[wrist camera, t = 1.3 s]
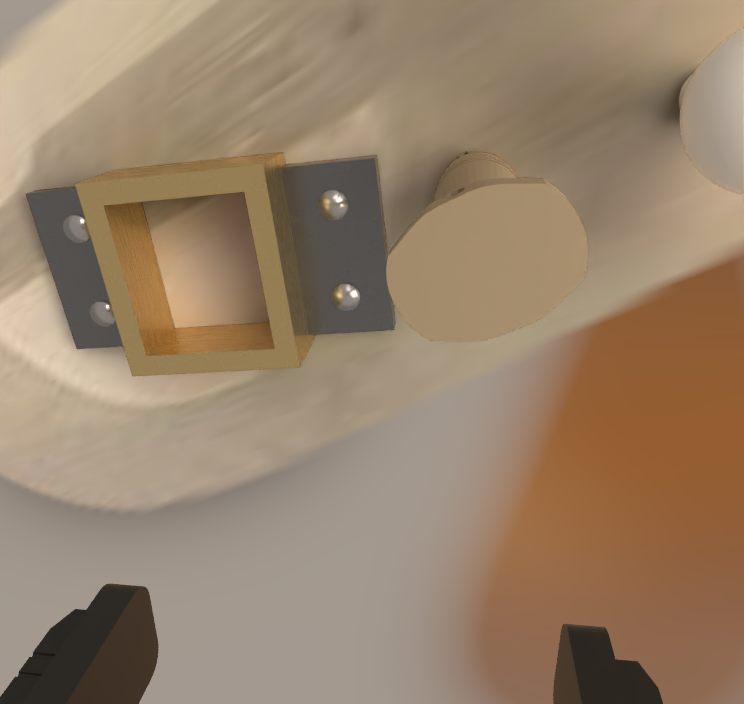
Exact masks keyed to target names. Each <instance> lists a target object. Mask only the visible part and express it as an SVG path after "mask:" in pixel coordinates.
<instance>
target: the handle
mask: <svg viewBox="0 0 744 704" xmlns="http://www.w3.org/2000/svg"><path fill="white" fill-rule="evenodd" d="M588 256H589V252H588V243H587V237H586V234H585V231H584V227H583V224H582V222H581V220H580V218H579V216H578V214H577V212H576V210H575V209H574V207H573V206H572V205H571V203H570V202H569V201H568V199H567V198H566V197H565V195H564V194H563V193H562V192H561V191H560V190H559V189H557V188H556V187H555V186H554V185H552V184H551V183H549V182H548V181H546V180H544V179H543V178H517V176H516V174H515V172H514V171H513V170H512V169H511V167H510V166H509V165H508V164H507V163H505V162H504V161H503V160H502V159H500V158H499V157H498V156H497V155H495V154H489V153H486V152H473V153H471V152H470V151H466V152H464V153H462V154H460V155H459V156H458V157H457V158H456V160H455V161H454V162H452V163H451V164H450V166H449V167H448V168H447V169H446V170H445V172H444V173H443V175H442V177H441V178H440V181H439V183H438V185H437V188H436V192H435V197H434V202H433V203H431V204H430V205H428V206H427V207H426V208H425V209H424V210H423V211H422V212H421V213H420V214H419V215H418V216H417V217H416V218H415V220H414V221H413V222H412V223H411V224H410V226H409V227H408V228H407V229H406V230H405V232H404V233H403V234H402V235H401V237H400V238H399V239H398V240H397V242H396V243H395V244H394V246H393V247H392V248H391V250H390V252H389V255H388V259H387V266H386V280H387V284H388V288H389V293H390V295H391V298H392V300H393V302H394V305H395V307H396V308H397V310H398V312H399V313H400V315H401V316H402V318H403V319H404V320H405V322H406V323H407V324H408V325H409V326H410V327H411V328H412V329H413V330H414V331H416V332H417V333H418V334H420V335H421V336H423V337H424V338H426V339H428V340H430V341H448V342H474V341H485V340H488V339H492V338H495V337H499V336H501V335H504V334H506V333H509V332H511V331H514V330H516V329H519V328H521V327H524V326H526V325H529V324H531V323H533V322H535V321H537V320H539V319H541V318H542V317H543V316H545V315H546V314H547V313H549V312H550V311H551V310H552V309H554V308H555V307H556V306H557V305H558V304H559V303H560V302H561V301H562V300H563V299H564V298H565V297H566V296H567V295H568V294H569V293H570V292H571V291H572V290H573V289H574V288H575V287H576V286H577V285H578V284H579V283H580V282H581V281H582V280H583V278H584V276H585V273H586V269H587V264H588Z"/></svg>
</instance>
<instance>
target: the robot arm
mask: <svg viewBox="0 0 744 704" xmlns="http://www.w3.org/2000/svg"><path fill="white" fill-rule="evenodd" d="M157 658H158V639H157V634H156V629H155V623H154V617H153V612H152V606H151V601H150V595H149V592H148V590H147V588H146V587H143V586H130V585H119V584H106V585H105V586H103V587H102V589H101V590H100V591H99V593H98V594H97V595H96V597H95V598H94V600H93V601H92V603H91V604H90V605H89V607H88V608H87V610H79V609H75V610H74V611H72V612H71V613H70V614H69V615H67V616H66V617H65V618H63V619H62V620H61V621H60V622H58V623H57V624H56V625H55V626H53V627H52V628H51V629H50V630H49V632H48V633H47V634H46V635H45V637H44V638H43V640H42V641H41V642H40V644H39V645H38V646H37V648H36V649H35V651H34V652H33V656H32V657H29V659H28V660H27V661H26V663H25V664H24V666H23V667H22V668H21V670H20V671H19V675H18V677H15V678H14V679H13V680H12V682H11V683H10V685H9V686H8V687H7V689H6V690H5V691H4V693H3V694H2V695H1V697H0V704H139V702H140V700H141V698H142V696H143V694H144V692H145V690H146V688H147V686H148V684H149V682H150V680H151V678H152V676H153V673H154V670H155V667H156V663H157ZM553 697H554V698H553V700H554V704H663V702H662V699H661V695H660V692H659V689H658V687H657V686H656V685H655V683H654V682H653V681H652V679H651V678H650V677H649V676H648V674H647V673H646V672H645V670H644V669H643V668H642V667H641V665H640V664H639V663H638V662H637V661H626V660H615V656H614V653H613V649H612V645H611V642H610V638H609V634H608V632H607V630H606V628H605V627H595V626H583V625H572V624H563V626H562V630H561V636H560V643H559V650H558V658H557V665H556V672H555V680H554V692H553Z"/></svg>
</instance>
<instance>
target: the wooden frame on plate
mask: <svg viewBox="0 0 744 704" xmlns="http://www.w3.org/2000/svg"><path fill="white" fill-rule="evenodd" d="M237 192H244V194H245V199H246V204H247V209H248V214H249V219H250V224H251V229H252V235H253V240H254V245H255V250H256V255H257V260H258V265H259V270H260V276H261V281H262V286H263V291H264V296H265V301H266V306H267V311H268V317H269V323H254V324H238V325H222V326H207V327H191V328H176V329H175V328H174V325H173V321H172V317H171V313H170V309H169V305H168V301H167V298H166V294H165V290H164V286H163V282H162V278H161V275H160V271H159V267H158V263H157V259H156V255H155V252H154V248H153V244H152V240H151V236H150V232H149V228H148V225H147V221H146V217H145V213H144V209H143V205H142V202H145V201H155V200H165V199H175V198H186V197H196V196H206V195H216V194H226V193H237ZM26 197H27V200H28V203H29V206H30V209H31V212H32V215H33V218H34V221H35V224H36V227H37V230H38V233H39V236H40V239H41V242H42V245H43V248H44V251H45V254H46V257H47V260H48V263H49V266H50V269H51V272H52V275H53V278H54V281H55V284H56V287H57V290H58V293H59V296H60V299H61V302H62V305H63V308H64V311H65V314H66V317H67V320H68V323H69V326H70V330H71V333H72V336H73V339H74V342H75V345H76V348H77V349H84V348H101V347H117V346H124V350H125V353H126V357H127V360H128V363H129V367H130V370H131V373H132V376H147V375H166V374H186V373H205V372H224V371H243V370H262V369H282V368H300V366H301V364H302V362H303V360H304V358H305V356H306V354H307V352H308V350H309V348H310V346H311V344H312V342H313V340H314V335H317V334H333V333H350V332H366V331H383V330H394V328H395V314H394V305H393V300H392V298H391V295H390V293H389V288H388V284H387V280H386V266H387V259H388V250H387V241H386V232H385V223H384V214H383V205H382V196H381V187H380V177H379V168H378V159H377V155H372V156H363V157H353V158H343V159H334V160H324V161H314V162H305V163H295V164H285V158H284V152H280V153H270V154H261V155H252V156H242V157H233V158H224V159H214V160H205V161H196V162H186V163H177V164H168V165H158V166H149V167H140V168H130V169H121V170H113V171H110V172H107V173H104V174H101V175H99V176H96V177H93V178H90V179H87V180H85V181H82V182H79V183H76V184H75V186H74V187H64V188H55V189H45V190H36V191H33V192H30V193H27V194H26Z"/></svg>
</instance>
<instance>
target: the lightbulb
mask: <svg viewBox="0 0 744 704" xmlns="http://www.w3.org/2000/svg"><path fill="white" fill-rule="evenodd" d="M679 108H680V134H681V139H682V143H683V146H684V149H685V151H686V154H687V156H688V157H689V159H690V161H691V162H692V164H693V165H694V167H695V168H696V169H697V170H698V171H699V172H700V173H701V174H702V175H703V176H704V177H705V178H706V179H707V180H709V181H710V182H712V183H713V184H715V185H717V186H718V187H720V188H722V189H725V190H727V191H730V192H733V193H736V194H740V195H744V28H742V29H740V30H738V31H737V32H735V33H733V34H732V35H730V36H729V37H727V38H726V39H725V40H723V41H722V42H721V43H720V44H719V45H717V46H716V47H715V48H714V49H713V50H712V51H711V52H710V53H709V54H708V55H707V56H706V58H705V59H704V60H703V61H702V62H701V64H700V65H699V66H698V68H697V69H696V71H695V72H694V73H693V74H692V75H690V76H689V77H688V79H687V80H686V81H685V83H684V84H683V86H682V88H681V91H680V94H679Z"/></svg>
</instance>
